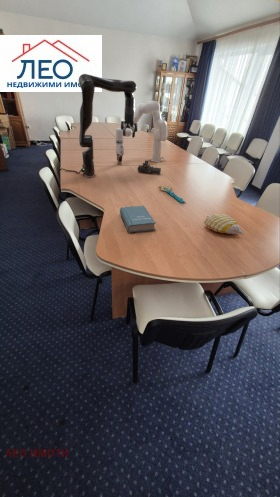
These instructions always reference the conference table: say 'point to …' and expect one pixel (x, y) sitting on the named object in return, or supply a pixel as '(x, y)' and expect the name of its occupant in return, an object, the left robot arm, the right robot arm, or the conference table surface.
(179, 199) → the logo
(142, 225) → the book
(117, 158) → the tin
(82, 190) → the conference table surface
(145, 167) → the laser sight
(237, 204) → the conference table surface
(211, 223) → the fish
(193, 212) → the conference table surface
